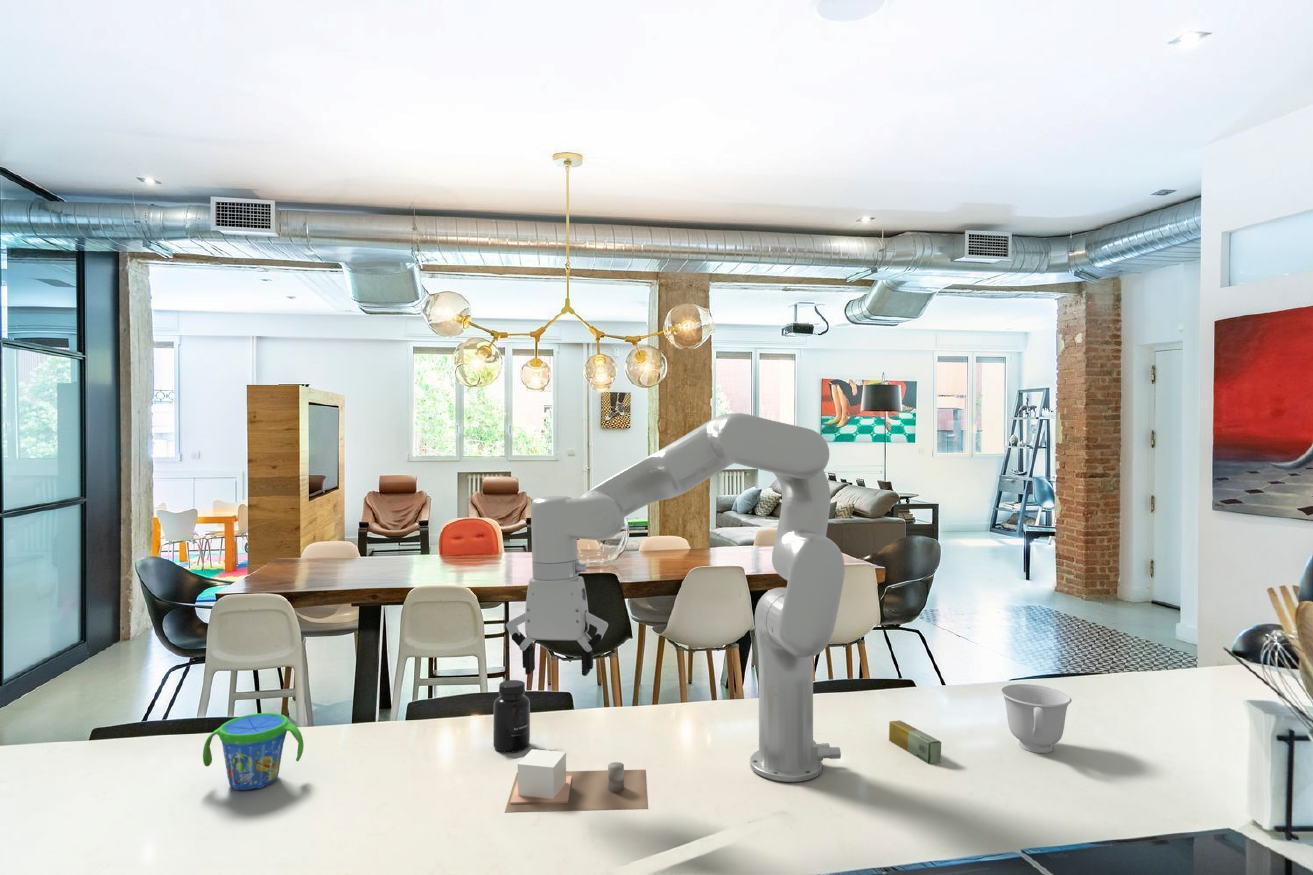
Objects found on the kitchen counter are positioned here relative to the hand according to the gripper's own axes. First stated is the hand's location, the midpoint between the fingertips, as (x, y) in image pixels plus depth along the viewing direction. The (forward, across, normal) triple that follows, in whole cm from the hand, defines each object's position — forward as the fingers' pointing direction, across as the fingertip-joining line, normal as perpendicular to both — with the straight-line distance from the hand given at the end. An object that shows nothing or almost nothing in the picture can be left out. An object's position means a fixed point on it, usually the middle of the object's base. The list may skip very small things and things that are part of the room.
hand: (558, 672), depth 131 cm
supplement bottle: (+20, +14, -16) cm, 29 cm away
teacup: (+22, -84, -27) cm, 91 cm away
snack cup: (+19, +53, +5) cm, 56 cm away
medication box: (+21, -61, -24) cm, 69 cm away
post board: (+20, -4, +3) cm, 20 cm away
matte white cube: (+18, +2, +4) cm, 18 cm away
